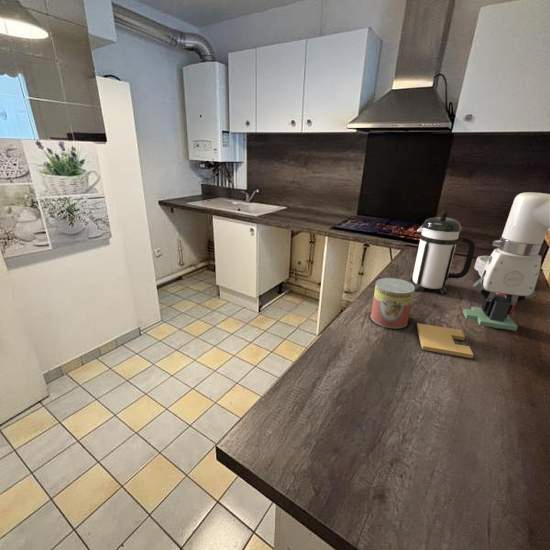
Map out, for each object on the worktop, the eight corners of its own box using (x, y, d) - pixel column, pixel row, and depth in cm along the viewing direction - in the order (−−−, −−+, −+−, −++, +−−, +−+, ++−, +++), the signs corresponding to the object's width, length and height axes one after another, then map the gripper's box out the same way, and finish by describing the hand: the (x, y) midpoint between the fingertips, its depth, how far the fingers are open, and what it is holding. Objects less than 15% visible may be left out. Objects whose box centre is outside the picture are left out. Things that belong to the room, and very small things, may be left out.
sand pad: (460, 333, 86) (461, 329, 86) (472, 358, 76) (473, 354, 75) (416, 326, 89) (417, 323, 89) (422, 349, 79) (423, 345, 78)
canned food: (369, 324, 90) (374, 289, 86) (371, 307, 100) (376, 275, 95) (408, 331, 87) (416, 296, 82) (407, 313, 96) (414, 280, 92)
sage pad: (503, 314, 79) (512, 293, 76) (516, 330, 72) (525, 308, 69) (460, 308, 82) (466, 287, 79) (468, 323, 75) (475, 301, 72)
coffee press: (432, 299, 106) (452, 217, 94) (399, 282, 119) (412, 209, 108) (464, 291, 112) (486, 213, 101) (429, 276, 126) (445, 206, 114)
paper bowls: (501, 272, 131) (506, 255, 127) (524, 286, 117) (531, 268, 113) (465, 270, 132) (470, 254, 129) (484, 284, 118) (490, 266, 115)
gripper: (483, 248, 67) (462, 316, 75) (570, 256, 63) (538, 328, 70) (474, 239, 74) (455, 302, 81) (552, 246, 69) (524, 312, 77)
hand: (494, 313), depth 76 cm, fingers closed on sage pad, 3 cm apart
